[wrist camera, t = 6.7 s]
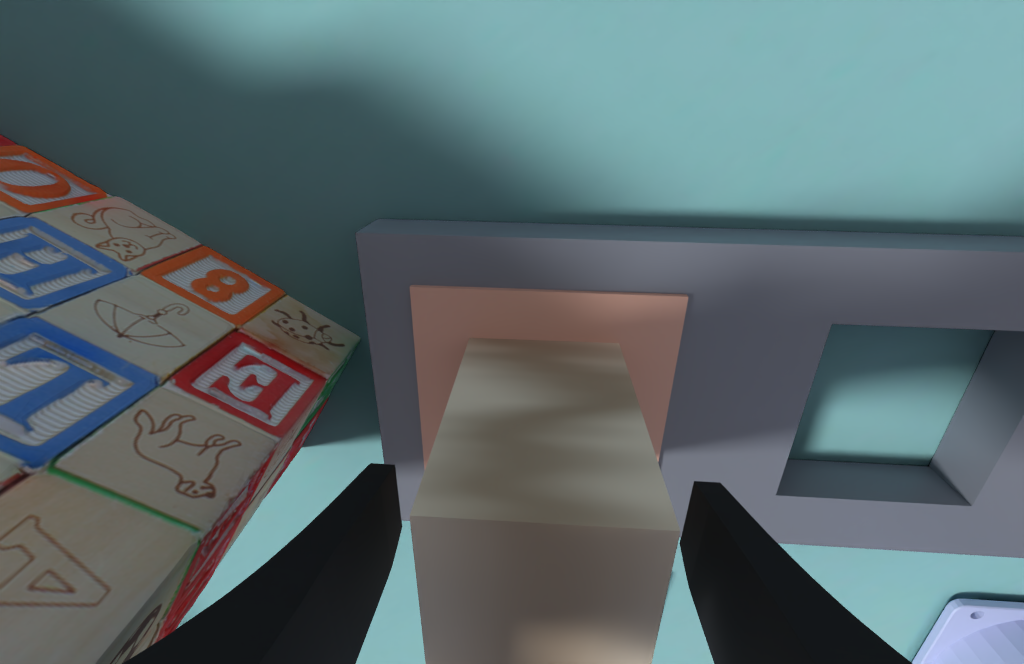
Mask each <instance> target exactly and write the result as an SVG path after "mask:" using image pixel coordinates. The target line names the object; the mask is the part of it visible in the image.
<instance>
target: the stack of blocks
mask: <svg viewBox="0 0 1024 664" xmlns="http://www.w3.org/2000/svg"><path fill="white" fill-rule="evenodd" d="M360 340H361V338H360V337H359V336H358V335H356V334H354V333H352V332H351V331H349V330H347V329H345V328H344V327H342V326H340V325H339V324H337V323H335V322H333V321H332V320H330V319H328V318H326V317H325V316H323V315H321V314H319V313H318V312H316V311H314V310H313V309H311V308H309V307H307V306H306V305H304V304H302V303H300V302H299V301H297V300H295V299H294V298H292V297H290V296H288V295H287V294H286V293H285V292H284V291H283V290H282V289H280V288H278V287H277V286H275V285H273V284H271V283H270V282H268V281H266V280H264V279H263V278H261V277H259V276H257V275H256V274H254V273H252V272H251V271H249V270H247V269H245V268H244V267H242V266H240V265H238V264H236V263H235V262H233V261H231V260H230V259H228V258H226V257H224V256H223V255H221V254H219V253H217V252H216V251H214V250H212V249H210V248H209V247H206V246H203V245H202V244H201V243H199V242H198V241H196V240H195V239H193V238H191V237H189V236H188V235H186V234H185V233H183V232H181V231H180V230H178V229H176V228H175V227H173V226H171V225H169V224H167V223H165V222H164V221H162V220H160V219H159V218H157V217H155V216H153V215H152V214H150V213H148V212H146V211H145V210H143V209H141V208H139V207H137V206H135V205H134V204H132V203H131V202H129V201H127V200H125V199H123V198H121V197H117V196H111V195H109V194H107V193H106V192H104V191H103V190H102V189H100V188H99V187H97V186H94V185H92V184H90V183H88V182H86V181H85V180H83V179H81V178H79V177H77V176H75V175H74V174H72V173H71V172H69V171H67V170H66V169H64V168H62V167H60V166H58V165H57V164H55V163H53V162H51V161H49V160H48V159H46V158H44V157H42V156H41V155H39V154H37V153H35V152H34V151H32V150H30V149H28V148H27V147H24V146H20V145H17V144H15V143H14V142H13V141H11V140H9V139H8V138H6V137H4V136H2V135H0V664H122V663H124V662H126V661H127V660H129V659H131V658H132V657H134V656H135V655H137V654H139V653H140V652H142V651H143V650H145V649H147V648H148V647H150V646H151V645H153V644H155V643H156V642H158V641H159V640H161V639H162V638H164V637H166V636H167V635H169V634H170V633H171V632H173V631H174V630H175V629H176V628H177V626H178V625H179V623H180V622H181V620H182V619H183V617H184V616H185V615H186V613H187V612H188V611H189V610H190V608H191V607H192V606H193V604H194V602H195V601H196V599H197V598H198V596H199V595H200V593H201V592H202V591H203V589H204V588H205V586H206V585H207V583H208V582H209V580H210V578H211V577H212V575H213V573H214V571H215V569H216V568H217V566H218V565H219V563H220V562H221V561H222V559H223V558H224V556H225V555H226V553H227V552H228V550H229V549H230V547H231V546H232V545H233V543H234V542H235V540H236V539H237V537H238V536H239V534H240V533H241V532H242V530H243V529H244V527H245V526H246V524H247V523H248V521H249V520H250V519H251V517H252V516H253V514H254V513H255V511H256V510H257V508H258V507H259V505H260V504H261V502H262V500H263V499H264V498H265V497H266V496H267V494H268V493H269V492H270V491H271V489H272V488H273V486H274V485H275V484H276V482H277V481H278V480H279V478H280V477H281V475H282V474H283V472H284V471H285V470H286V468H287V467H288V465H289V464H290V462H291V461H292V460H293V458H294V457H295V456H296V454H297V453H298V452H299V450H300V449H301V447H302V445H303V443H304V442H305V440H306V438H307V436H308V435H309V433H310V431H311V429H312V427H313V426H314V424H315V422H316V420H317V419H318V417H319V415H320V413H321V411H322V409H323V408H324V406H325V404H326V402H327V401H328V398H329V394H330V393H331V391H332V389H333V387H334V385H335V384H336V382H337V380H338V378H339V377H340V375H341V373H342V372H343V370H344V368H345V366H346V365H347V363H348V361H349V359H350V357H351V356H352V354H353V352H354V350H355V349H356V347H357V345H358V344H359V342H360Z"/></svg>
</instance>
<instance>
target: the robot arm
mask: <svg viewBox="0 0 1024 664" xmlns="http://www.w3.org/2000/svg"><path fill="white" fill-rule="evenodd" d="M401 529H402V521H401V512H400V504H399V495H398V486H397V477H396V468H395V465H391V464H373V463H371V464H370V465H368V466H367V467H366V468H365V469H364V470H363V471H362V472H361V473H360V474H359V475H358V476H357V477H356V478H355V479H354V480H353V481H352V482H351V483H350V484H349V485H348V486H347V487H346V489H345V490H344V491H343V492H342V493H341V494H340V495H339V496H338V497H337V498H336V499H335V500H334V501H333V502H332V503H331V504H330V505H329V506H328V507H327V508H325V509H324V510H323V511H322V512H321V513H320V514H319V515H318V516H317V517H316V518H315V519H314V520H313V521H312V522H311V523H310V524H309V525H308V526H307V527H306V528H305V529H304V530H303V531H301V532H300V533H299V534H298V535H297V536H296V537H295V538H294V539H292V540H291V541H290V542H289V543H288V544H287V545H286V546H285V547H283V548H282V549H281V550H280V551H279V552H278V553H277V554H276V555H274V556H273V557H272V558H271V559H270V560H269V561H267V562H266V563H265V564H264V565H263V566H261V567H260V568H259V569H258V570H257V571H255V572H254V573H253V574H252V575H250V576H249V577H248V578H247V579H245V580H244V581H243V582H242V583H240V584H239V585H238V586H236V587H235V588H234V589H232V590H231V591H230V592H229V593H227V594H226V595H225V596H223V597H222V598H221V599H219V600H218V601H216V602H215V603H214V604H212V605H211V606H209V607H208V608H206V609H205V610H204V611H202V612H201V613H199V614H198V615H196V616H195V617H193V618H192V619H190V620H189V621H188V622H186V623H185V624H183V625H182V626H180V627H179V628H177V629H176V630H174V631H173V632H171V633H170V634H169V635H167V636H166V637H164V638H162V639H161V640H159V641H158V642H156V643H155V644H153V645H151V646H150V647H148V648H147V649H145V650H143V651H142V652H140V653H139V654H137V655H135V656H134V657H132V658H131V659H129V660H127V661H126V662H124V663H122V664H355V663H356V661H357V658H358V655H359V653H360V650H361V648H362V645H363V642H364V640H365V637H366V634H367V632H368V629H369V627H370V624H371V621H372V619H373V616H374V613H375V611H376V608H377V606H378V603H379V600H380V598H381V595H382V592H383V590H384V587H385V584H386V582H387V579H388V576H389V573H390V571H391V568H392V564H393V561H394V557H395V553H396V549H397V545H398V541H399V537H400V533H401ZM680 547H681V552H682V557H683V562H684V567H685V571H686V576H687V580H688V585H689V589H690V592H691V595H692V598H693V601H694V604H695V607H696V610H697V613H698V616H699V619H700V622H701V625H702V628H703V631H704V634H705V637H706V640H707V643H708V646H709V649H710V652H711V655H712V658H713V661H714V663H715V664H1024V603H1023V602H1008V601H992V600H977V599H955V600H952V601H950V602H949V603H948V604H947V605H946V607H945V609H944V610H943V612H942V613H941V615H940V617H939V618H938V620H937V622H936V623H935V625H934V627H933V628H932V630H931V632H930V633H929V635H928V637H927V638H926V640H925V642H924V643H923V645H922V647H921V648H920V650H919V652H918V653H917V655H916V656H915V658H914V660H913V661H912V663H911V662H910V661H908V660H907V659H906V658H905V657H903V656H902V655H901V654H900V653H898V652H897V651H896V650H894V649H893V648H892V647H891V646H890V645H888V644H887V643H886V642H885V641H884V640H882V639H881V638H880V637H879V636H878V635H876V634H875V633H874V632H873V631H872V630H870V629H869V628H868V627H867V626H866V625H864V624H863V623H862V622H861V621H860V620H858V619H857V618H856V617H855V616H854V615H853V614H851V613H850V612H849V611H848V610H847V609H846V608H845V607H843V606H842V605H841V604H840V603H839V602H838V601H837V600H836V599H835V598H834V597H832V596H831V595H830V594H829V593H828V592H827V591H826V590H825V589H824V588H823V587H822V586H821V585H820V584H818V583H817V582H816V581H815V580H814V579H813V578H812V577H811V576H810V575H809V574H808V573H807V572H806V571H805V570H804V569H803V568H802V567H801V566H800V565H799V564H798V563H797V562H795V561H794V560H793V559H792V558H791V557H790V556H789V555H788V554H787V552H786V551H785V550H784V549H783V548H782V547H781V546H780V545H779V544H778V543H777V542H776V541H775V540H774V539H773V538H772V537H771V536H770V535H769V534H768V533H767V532H766V531H765V530H764V529H763V528H762V527H761V526H760V524H759V523H758V522H757V521H756V520H755V519H754V518H753V517H752V516H751V515H750V514H749V513H748V512H747V511H746V510H745V508H744V507H743V506H742V505H741V504H740V503H739V502H738V501H737V500H736V499H735V498H734V497H733V495H732V494H731V493H730V492H729V491H728V490H727V489H726V488H725V487H724V486H723V485H722V484H721V483H720V482H703V481H694V483H693V488H692V492H691V496H690V501H689V505H688V510H687V514H686V518H685V523H684V527H683V531H682V536H681V540H680Z"/></svg>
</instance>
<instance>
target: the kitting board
mask: <svg viewBox="0 0 1024 664" xmlns="http://www.w3.org/2000/svg"><path fill="white" fill-rule="evenodd" d="M355 235H356V243H357V251H358V259H359V267H360V275H361V283H362V291H363V299H364V306H365V314H366V322H367V330H368V338H369V346H370V354H371V362H372V370H373V378H374V386H375V394H376V402H377V410H378V418H379V425H380V433H381V441H382V449H383V457H384V464H391V465H395V468H396V477H397V486H398V495H399V504H400V512H401V520H403V521H410V513H411V510H412V507H413V504H414V501H415V498H416V495H417V492H418V489H419V486H420V483H421V480H422V477H423V474H424V471H425V468H426V465H427V462H428V460H429V457H430V454H431V451H432V448H433V445H434V442H435V439H436V436H437V433H438V430H439V427H440V424H441V421H442V418H443V415H444V412H445V409H446V406H447V403H448V400H449V397H450V394H451V391H452V388H453V385H454V382H455V379H456V376H457V373H458V370H459V367H460V364H461V362H462V359H463V356H464V353H465V350H466V347H467V344H468V341H469V338H490V339H517V340H545V341H572V342H600V343H619V344H620V347H621V350H622V353H623V357H624V360H625V363H626V366H627V369H628V372H629V375H630V378H631V381H632V384H633V387H634V390H635V393H636V396H637V399H638V403H639V406H640V409H641V412H642V415H643V418H644V421H645V424H646V427H647V430H648V433H649V436H650V439H651V442H652V445H653V448H654V452H655V455H656V458H657V461H658V464H659V467H660V470H661V473H662V476H663V479H664V482H665V485H666V488H667V491H668V494H669V498H670V501H671V504H672V507H673V510H674V513H675V516H676V519H677V522H678V525H679V528H680V535H679V537H681V536H682V531H683V527H684V523H685V518H686V514H687V510H688V505H689V501H690V496H691V492H692V488H693V483H694V481H703V482H720V483H721V484H722V485H723V486H724V487H725V488H726V489H727V490H728V491H729V492H730V493H731V494H732V495H733V497H734V498H735V499H736V500H737V501H738V502H739V503H740V504H741V505H742V506H743V507H744V508H745V510H746V511H747V512H748V513H749V514H750V515H751V516H752V517H753V518H754V519H755V520H756V521H757V522H758V523H759V524H760V526H761V527H762V528H763V529H764V530H765V531H766V532H767V533H768V534H769V535H770V536H771V537H772V538H773V539H774V540H775V541H776V542H777V543H783V544H800V545H816V546H833V547H849V548H866V549H883V550H899V551H916V552H932V553H949V554H965V555H982V556H998V557H1015V558H1024V236H988V235H951V234H915V233H878V232H842V231H806V230H769V229H733V228H696V227H660V226H623V225H587V224H551V223H514V222H478V221H441V220H405V219H377V220H375V221H373V222H372V223H370V224H369V225H367V226H365V227H364V228H362V229H361V230H359V231H357V232H356V233H355ZM832 324H845V325H872V326H899V327H926V328H953V329H980V330H995V332H994V334H993V336H992V338H991V340H990V342H989V344H988V346H987V348H986V350H985V352H984V354H983V356H982V358H981V360H980V362H979V365H978V367H977V369H976V371H975V373H974V375H973V377H972V379H971V381H970V383H969V385H968V387H967V389H966V391H965V393H964V395H963V397H962V399H961V401H960V403H959V405H958V407H957V409H956V411H955V414H954V416H953V418H952V420H951V422H950V424H949V426H948V428H947V430H946V432H945V434H944V436H943V438H942V440H941V442H940V444H939V446H938V448H937V450H936V452H935V454H934V456H933V458H932V460H931V463H930V465H929V466H910V465H891V464H871V463H852V462H833V461H813V460H794V459H788V456H789V453H790V450H791V447H792V444H793V441H794V438H795V435H796V432H797V429H798V426H799V423H800V420H801V417H802V414H803V411H804V408H805V404H806V401H807V398H808V395H809V392H810V389H811V386H812V383H813V380H814V377H815V374H816V371H817V368H818V365H819V362H820V359H821V356H822V353H823V350H824V346H825V343H826V340H827V337H828V334H829V331H830V328H831V325H832Z"/></svg>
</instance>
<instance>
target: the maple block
mask: <svg viewBox="0 0 1024 664" xmlns="http://www.w3.org/2000/svg"><path fill="white" fill-rule="evenodd" d="M410 524H411V533H412V542H413V551H414V560H415V570H416V579H417V588H418V597H419V606H420V615H421V625H422V634H423V643H424V652H425V661H426V664H651V663H652V658H653V654H654V649H655V645H656V640H657V635H658V631H659V626H660V622H661V617H662V613H663V608H664V604H665V599H666V594H667V590H668V585H669V581H670V576H671V572H672V567H673V563H674V558H675V553H676V549H677V544H678V540H679V535H680V528H679V525H678V522H677V519H676V516H675V513H674V510H673V507H672V504H671V501H670V498H669V494H668V491H667V488H666V485H665V482H664V479H663V476H662V473H661V470H660V467H659V464H658V461H657V458H656V455H655V452H654V448H653V445H652V442H651V439H650V436H649V433H648V430H647V427H646V424H645V421H644V418H643V415H642V412H641V409H640V406H639V403H638V399H637V396H636V393H635V390H634V387H633V384H632V381H631V378H630V375H629V372H628V369H627V366H626V363H625V360H624V357H623V353H622V350H621V347H620V344H619V343H600V342H572V341H545V340H517V339H490V338H469V341H468V344H467V347H466V350H465V353H464V356H463V359H462V362H461V364H460V367H459V370H458V373H457V376H456V379H455V382H454V385H453V388H452V391H451V394H450V397H449V400H448V403H447V406H446V409H445V412H444V415H443V418H442V421H441V424H440V427H439V430H438V433H437V436H436V439H435V442H434V445H433V448H432V451H431V454H430V457H429V460H428V462H427V465H426V468H425V471H424V474H423V477H422V480H421V483H420V486H419V489H418V492H417V495H416V498H415V501H414V504H413V507H412V510H411V513H410Z"/></svg>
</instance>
